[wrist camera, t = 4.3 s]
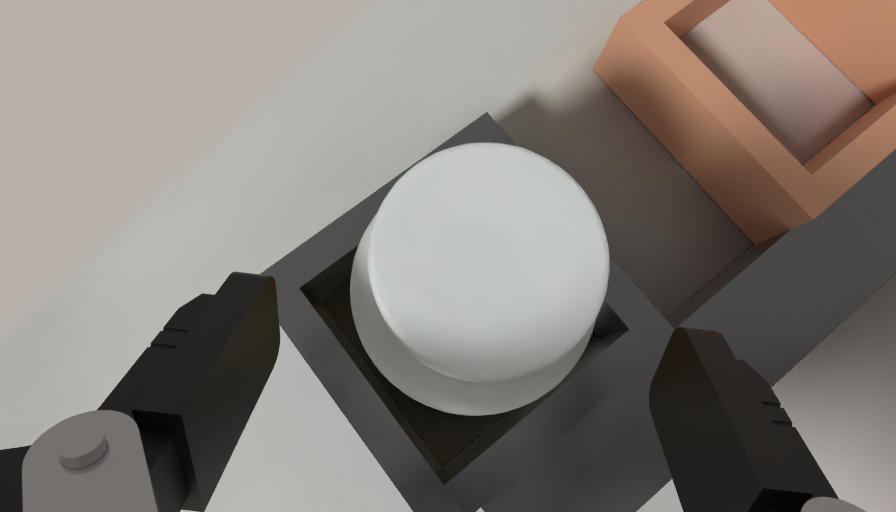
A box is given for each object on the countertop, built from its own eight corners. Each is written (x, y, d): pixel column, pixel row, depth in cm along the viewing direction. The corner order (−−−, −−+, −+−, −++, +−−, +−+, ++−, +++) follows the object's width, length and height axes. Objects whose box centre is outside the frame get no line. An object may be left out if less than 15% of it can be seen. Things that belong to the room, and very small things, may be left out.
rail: (727, -29, 21) (774, -94, 18) (950, 190, 20) (1042, 156, 17) (279, 297, 18) (249, 282, 15) (497, 600, 16) (512, 649, 13)
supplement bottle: (437, 437, 17) (443, 506, 8) (347, 299, 18) (256, 214, 9) (570, 340, 18) (720, 297, 9) (477, 213, 19) (522, 50, 10)
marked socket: (752, -46, 22) (801, -113, 19) (913, 109, 20) (994, 63, 17) (593, 69, 20) (619, 17, 17) (754, 244, 19) (813, 219, 16)
